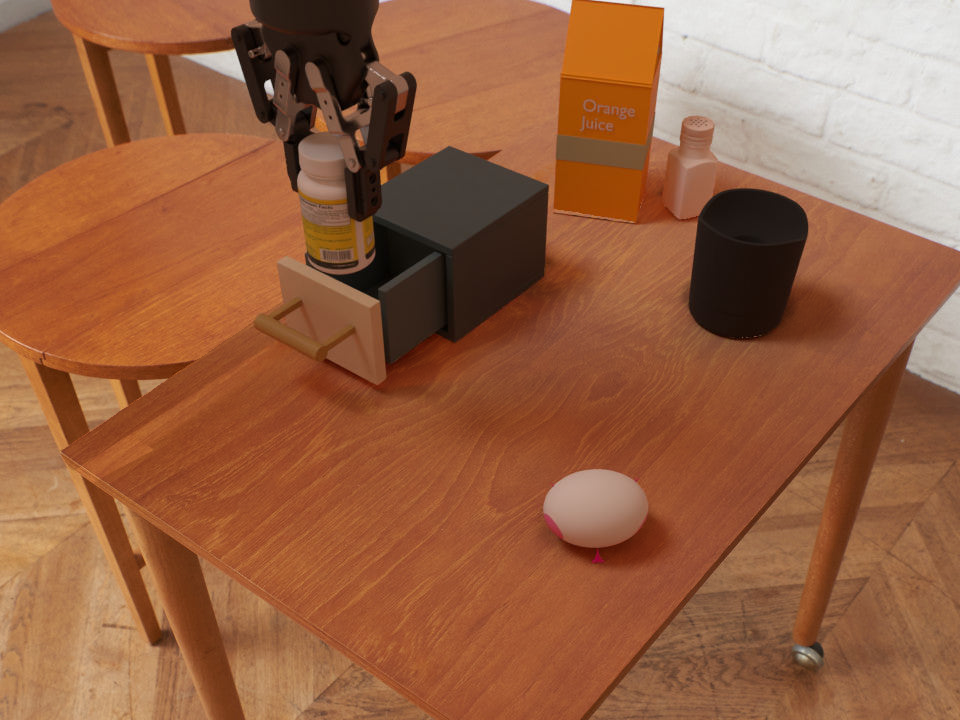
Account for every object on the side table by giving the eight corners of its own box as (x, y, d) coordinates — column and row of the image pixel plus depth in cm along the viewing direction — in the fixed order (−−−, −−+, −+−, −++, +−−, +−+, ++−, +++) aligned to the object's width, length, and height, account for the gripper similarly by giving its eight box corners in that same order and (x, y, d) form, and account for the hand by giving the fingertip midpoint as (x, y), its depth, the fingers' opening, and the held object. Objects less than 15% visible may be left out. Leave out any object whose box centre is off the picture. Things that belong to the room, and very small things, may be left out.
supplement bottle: (348, 232, 76) (337, 120, 70) (389, 259, 74) (381, 146, 68) (293, 256, 74) (277, 143, 68) (334, 284, 72) (321, 170, 65)
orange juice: (636, 225, 107) (660, 23, 93) (552, 213, 109) (562, 13, 94) (646, 187, 113) (670, -8, 98) (566, 177, 114) (577, -18, 100)
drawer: (337, 414, 85) (327, 336, 79) (248, 364, 89) (232, 286, 83) (471, 316, 94) (470, 240, 89) (384, 275, 98) (378, 200, 93)
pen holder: (807, 325, 96) (833, 228, 89) (724, 355, 93) (745, 256, 85) (743, 274, 101) (763, 178, 94) (663, 300, 98) (677, 203, 91)
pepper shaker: (678, 223, 108) (691, 135, 101) (658, 204, 110) (670, 117, 103) (711, 215, 109) (726, 127, 102) (691, 197, 111) (705, 110, 105)
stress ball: (630, 542, 81) (629, 457, 80) (659, 567, 73) (659, 473, 72) (533, 548, 80) (531, 462, 79) (552, 574, 72) (550, 479, 71)
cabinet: (454, 343, 93) (452, 249, 86) (358, 296, 98) (348, 203, 91) (544, 276, 101) (549, 184, 94) (451, 235, 105) (449, 145, 98)
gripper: (169, -87, 59) (221, 189, 72) (353, -25, 53) (375, 264, 66) (268, -116, 64) (301, 149, 76) (448, -62, 58) (452, 216, 70)
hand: (335, 201), depth 71 cm, fingers closed on supplement bottle, 4 cm apart
